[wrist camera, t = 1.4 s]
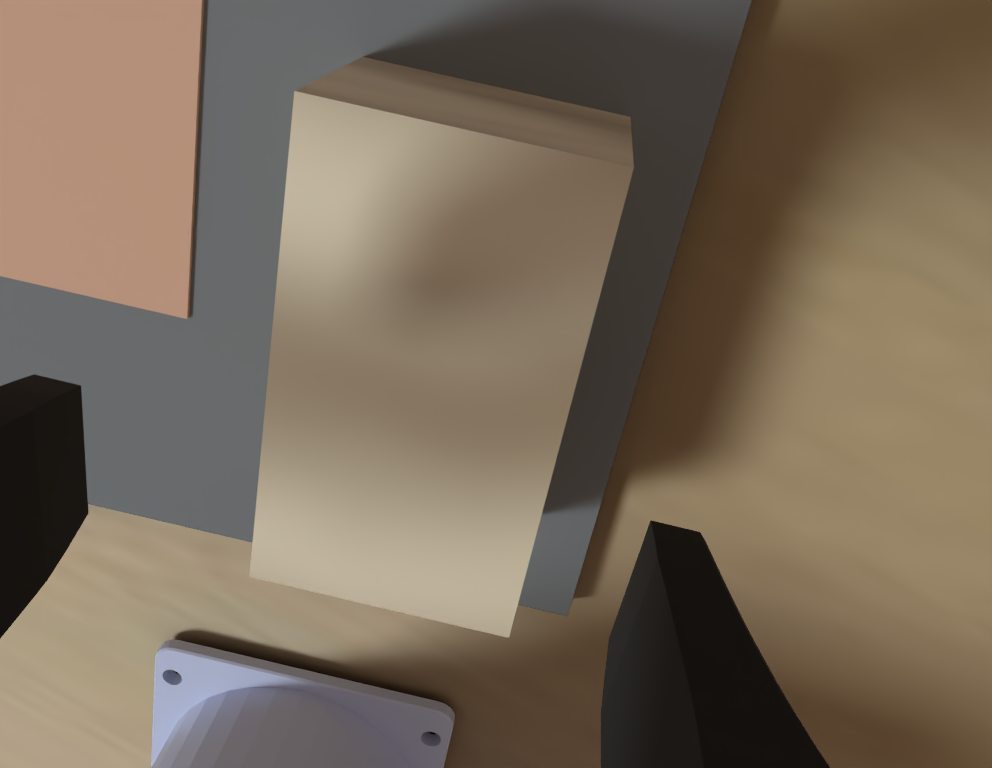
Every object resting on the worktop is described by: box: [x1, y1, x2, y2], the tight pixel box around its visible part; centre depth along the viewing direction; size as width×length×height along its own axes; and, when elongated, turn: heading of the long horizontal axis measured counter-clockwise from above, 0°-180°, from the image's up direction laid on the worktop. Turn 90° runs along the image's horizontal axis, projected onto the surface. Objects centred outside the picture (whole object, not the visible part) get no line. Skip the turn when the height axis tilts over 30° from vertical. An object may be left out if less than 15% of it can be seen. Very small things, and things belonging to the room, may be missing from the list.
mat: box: [0, 0, 752, 616], centre depth 18 cm, size 20×22×1 cm
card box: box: [249, 57, 634, 638], centre depth 17 cm, size 9×5×4 cm, turn 169°
